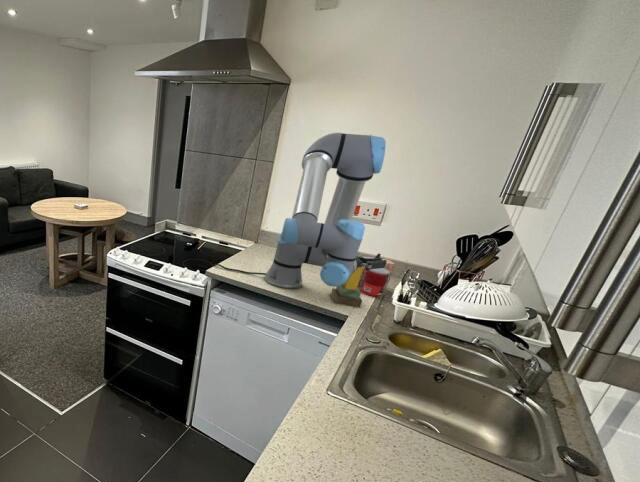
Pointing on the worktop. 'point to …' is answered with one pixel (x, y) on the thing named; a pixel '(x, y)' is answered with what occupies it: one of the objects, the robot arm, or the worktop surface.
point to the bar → (354, 279)
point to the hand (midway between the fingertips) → (357, 252)
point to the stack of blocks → (388, 266)
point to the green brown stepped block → (346, 296)
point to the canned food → (375, 282)
